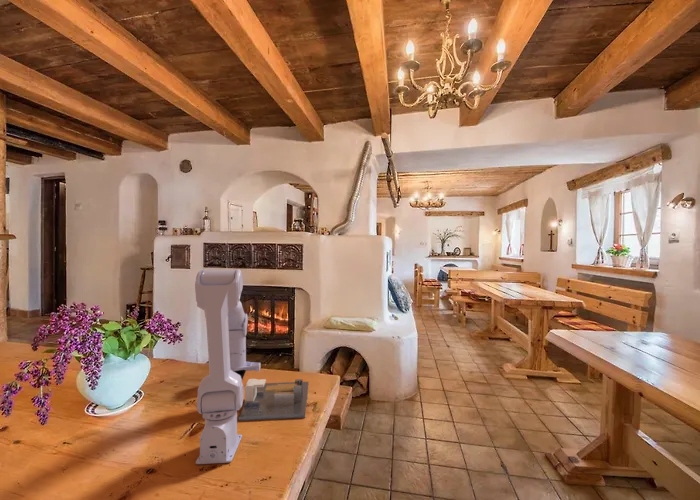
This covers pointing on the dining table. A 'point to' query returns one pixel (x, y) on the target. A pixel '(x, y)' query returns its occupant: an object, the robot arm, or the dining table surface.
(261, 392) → the base plate
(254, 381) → the latch
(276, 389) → the strap
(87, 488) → the dining table surface
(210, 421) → the robot arm
